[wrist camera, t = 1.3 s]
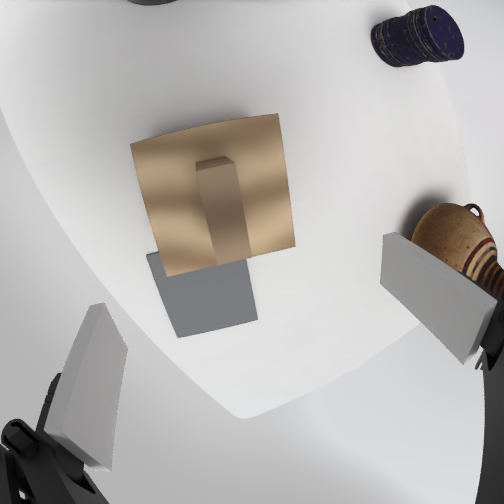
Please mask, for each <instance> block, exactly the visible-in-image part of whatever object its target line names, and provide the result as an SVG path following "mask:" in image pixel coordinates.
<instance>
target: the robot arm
mask: <svg viewBox="0 0 504 504" xmlns="http://www.w3.org/2000/svg"><path fill="white" fill-rule="evenodd" d="M128 1H130V2H133V3H136V4H141V5H159V4H165V3H169V2H173V1H176V0H128ZM380 284H381V285H382V286H383V287H384V288H385V289H387V290H388V291H389V292H390V293H391V294H392V295H393V296H394V297H395V298H396V299H397V300H398V301H400V302H401V303H402V304H403V305H404V306H405V307H406V308H407V309H408V310H409V311H410V312H411V313H412V314H413V315H414V316H415V317H416V318H417V319H418V320H419V321H420V322H422V323H423V324H424V325H425V326H426V327H427V328H428V329H429V330H430V331H431V332H432V333H433V334H434V335H435V336H436V337H437V338H438V339H439V340H440V341H441V342H442V343H443V344H444V345H445V346H446V347H447V349H449V351H450V352H451V353H452V354H453V355H454V356H455V357H456V358H457V359H458V360H459V361H460V362H461V363H462V364H463V365H464V364H465V363H467V362H468V361H469V360H471V359H472V358H473V357H475V355H476V352H477V350H478V348H479V346H481V347H482V348H483V349H484V350H483V352H482V354H481V356H480V358H479V360H478V362H477V364H476V366H475V369H476V370H477V369H478V367H479V365H480V363H481V362H482V366H481V368H480V369H481V370H483V377H484V393H485V394H484V396H485V429H484V447H483V458H482V467H481V474H480V481H479V487H478V492H477V497H476V502H475V504H504V302H503V301H502V300H500V299H499V298H498V297H497V296H495V295H494V294H493V293H491V292H490V291H488V290H487V289H486V288H484V287H483V286H482V285H479V283H477V282H476V281H475V280H472V278H470V277H469V276H468V275H466V274H465V273H463V272H460V271H457V270H455V269H453V268H451V267H450V266H448V265H447V264H445V263H444V262H442V261H441V260H439V259H438V258H436V257H435V256H433V255H431V254H430V253H428V252H427V251H425V250H424V249H422V248H420V247H419V246H417V245H416V244H414V243H412V242H411V241H409V240H407V239H406V238H404V237H402V236H401V235H399V234H397V233H396V232H393V233H390V234H386V235H383V249H382V266H381V279H380ZM127 351H128V348H127V345H126V344H125V342H124V340H123V338H122V337H121V335H120V333H119V331H118V329H117V327H116V325H115V323H114V321H113V319H112V317H111V315H110V313H109V312H108V309H107V307H106V305H105V303H100V304H95V305H91V306H90V307H89V309H88V311H87V314H86V316H85V318H84V320H83V323H82V325H81V327H80V329H79V331H78V334H77V336H76V338H75V341H74V343H73V346H72V348H71V350H70V353H69V355H68V358H67V361H66V363H65V366H64V369H63V371H62V373H58V374H57V375H56V377H55V378H54V379H53V381H52V382H51V384H50V387H49V390H48V395H46V398H45V403H44V404H43V407H42V410H41V414H40V417H39V420H38V424H37V427H36V431H35V432H34V430H32V429H31V428H30V427H29V426H28V425H27V424H26V423H25V422H24V421H22V420H21V419H13V420H11V421H9V422H8V423H7V424H6V426H5V427H4V429H3V431H2V435H1V443H2V444H3V445H5V446H6V447H7V448H8V449H9V450H7V449H6V448H5V447H3V446H2V445H1V444H0V504H109V503H108V501H107V500H106V499H105V497H104V496H103V495H102V493H101V492H100V491H99V490H98V488H97V487H96V485H95V484H94V483H93V481H92V479H91V478H90V477H89V475H88V474H87V473H86V472H85V471H84V470H83V469H84V463H85V464H86V465H87V466H89V467H90V468H92V469H93V470H100V471H111V467H112V454H113V443H114V433H115V424H116V415H117V409H118V402H119V395H120V389H121V383H122V377H123V372H124V366H125V361H126V355H127ZM19 491H21V492H23V493H24V494H25V499H23V498H21V497H20V494H19Z"/></svg>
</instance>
